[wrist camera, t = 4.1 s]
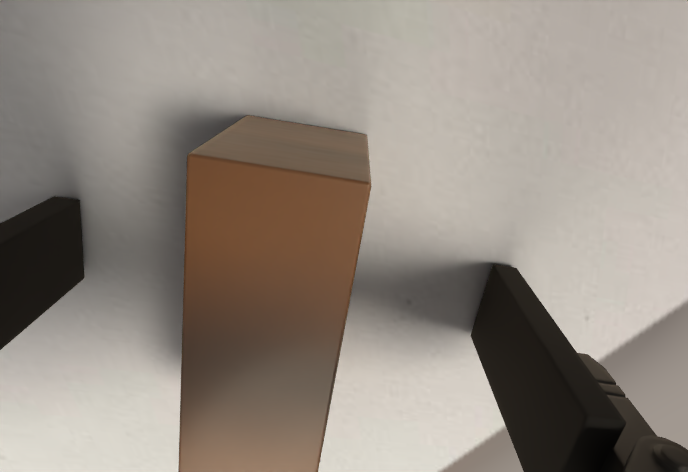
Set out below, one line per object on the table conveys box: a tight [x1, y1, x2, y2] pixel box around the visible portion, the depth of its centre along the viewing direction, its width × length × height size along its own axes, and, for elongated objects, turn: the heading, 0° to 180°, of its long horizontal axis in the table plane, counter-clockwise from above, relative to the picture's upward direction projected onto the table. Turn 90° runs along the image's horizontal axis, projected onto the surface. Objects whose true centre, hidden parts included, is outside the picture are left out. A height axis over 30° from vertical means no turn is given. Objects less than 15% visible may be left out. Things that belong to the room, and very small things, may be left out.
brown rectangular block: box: [179, 115, 371, 472], centre depth 13 cm, size 9×4×5 cm, turn 171°
